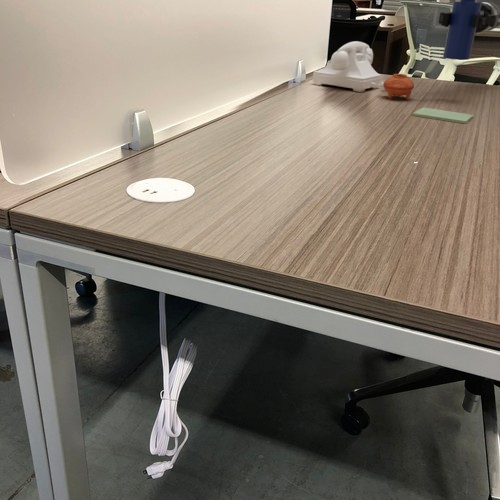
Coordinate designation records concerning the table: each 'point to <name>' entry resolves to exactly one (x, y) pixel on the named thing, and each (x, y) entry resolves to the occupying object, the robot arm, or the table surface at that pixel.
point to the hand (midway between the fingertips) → (458, 20)
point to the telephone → (350, 68)
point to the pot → (398, 85)
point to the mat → (443, 115)
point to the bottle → (461, 30)
